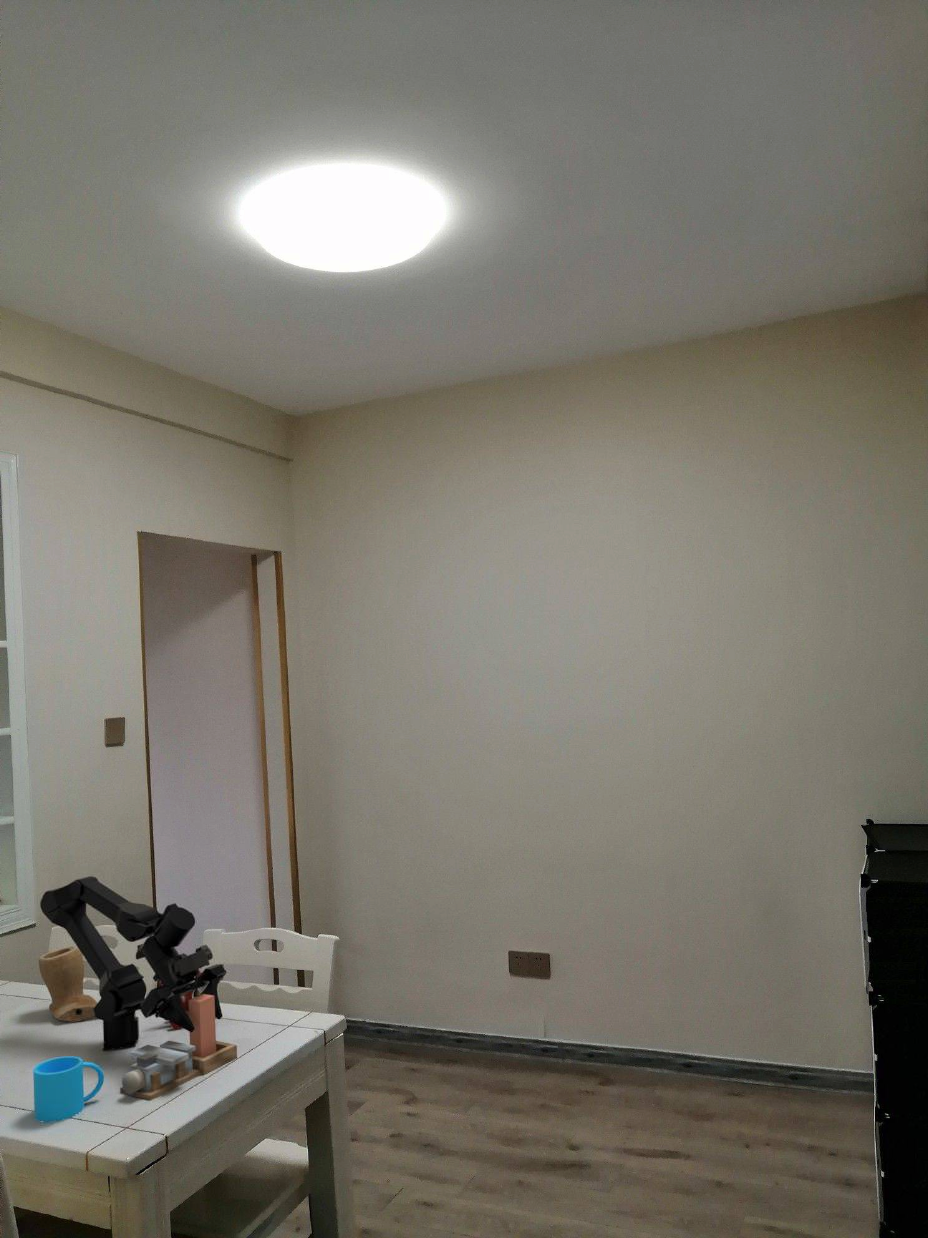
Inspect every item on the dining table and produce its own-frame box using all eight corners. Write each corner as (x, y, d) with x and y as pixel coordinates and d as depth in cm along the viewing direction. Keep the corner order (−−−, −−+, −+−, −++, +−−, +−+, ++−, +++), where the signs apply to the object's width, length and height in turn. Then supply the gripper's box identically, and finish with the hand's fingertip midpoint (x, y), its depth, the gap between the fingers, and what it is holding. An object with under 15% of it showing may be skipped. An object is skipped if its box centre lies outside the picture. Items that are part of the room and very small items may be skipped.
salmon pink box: (190, 1065, 196) (188, 1000, 196) (205, 1057, 199) (203, 994, 200) (201, 1067, 194) (199, 1002, 195) (216, 1060, 198) (214, 996, 198)
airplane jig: (199, 1050, 203) (198, 1019, 204) (240, 1058, 198) (238, 1026, 198) (108, 1094, 184) (107, 1060, 184) (150, 1105, 178) (149, 1069, 178)
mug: (41, 1127, 171) (39, 1079, 172) (29, 1111, 178) (28, 1065, 178) (111, 1106, 179) (110, 1059, 179) (97, 1092, 185) (96, 1047, 186)
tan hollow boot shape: (36, 1012, 232) (35, 947, 233) (90, 1001, 238) (88, 937, 239) (47, 1031, 219) (45, 961, 220) (103, 1018, 225) (101, 951, 226)
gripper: (148, 948, 192) (191, 1014, 186) (218, 924, 208) (260, 984, 202) (121, 985, 195) (163, 1051, 189) (192, 958, 211) (233, 1018, 205)
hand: (207, 1024), depth 196 cm, fingers open, 7 cm apart
